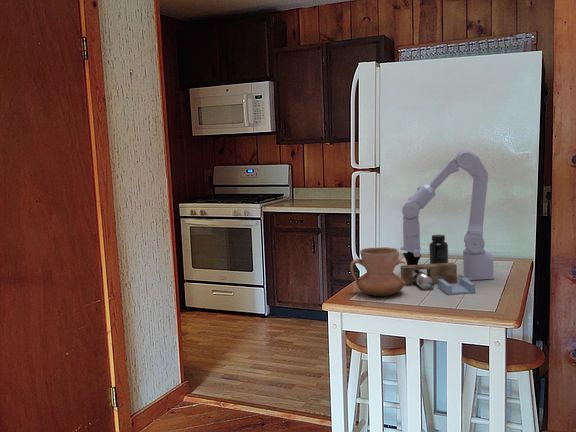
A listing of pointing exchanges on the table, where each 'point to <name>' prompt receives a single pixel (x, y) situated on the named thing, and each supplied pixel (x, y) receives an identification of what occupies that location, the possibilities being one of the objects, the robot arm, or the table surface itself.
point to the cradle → (457, 287)
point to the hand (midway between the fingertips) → (412, 272)
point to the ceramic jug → (379, 271)
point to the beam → (431, 272)
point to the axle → (422, 280)
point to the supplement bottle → (438, 250)
